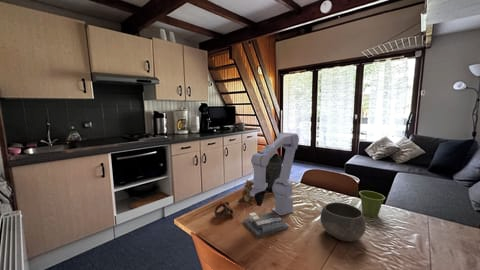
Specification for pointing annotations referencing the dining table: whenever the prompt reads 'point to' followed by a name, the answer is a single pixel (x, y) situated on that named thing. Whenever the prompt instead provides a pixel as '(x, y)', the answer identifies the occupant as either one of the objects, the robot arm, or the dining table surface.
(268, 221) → the strap
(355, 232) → the bowl
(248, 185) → the stuffed squirrel
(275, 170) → the beer stein
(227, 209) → the pottery mug
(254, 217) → the block
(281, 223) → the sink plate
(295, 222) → the dining table surface
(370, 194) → the plant pot
